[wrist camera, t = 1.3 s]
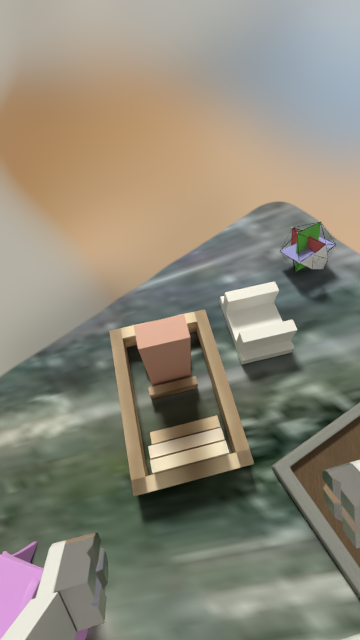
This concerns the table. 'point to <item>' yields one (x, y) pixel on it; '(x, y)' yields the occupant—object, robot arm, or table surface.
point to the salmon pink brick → (165, 349)
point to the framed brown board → (307, 485)
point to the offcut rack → (187, 439)
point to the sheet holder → (257, 323)
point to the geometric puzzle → (308, 248)
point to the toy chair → (20, 586)
